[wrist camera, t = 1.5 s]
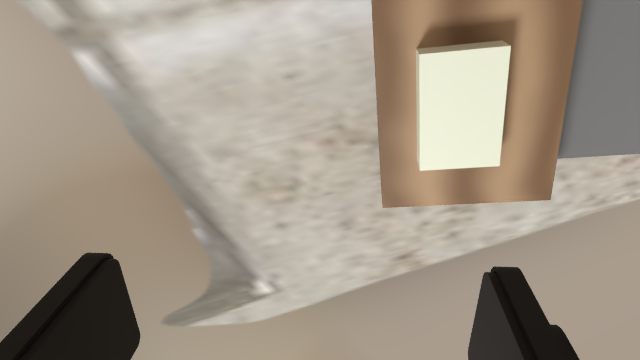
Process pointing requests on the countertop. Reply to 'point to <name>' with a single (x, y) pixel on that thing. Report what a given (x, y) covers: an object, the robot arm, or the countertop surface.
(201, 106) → the countertop surface
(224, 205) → the countertop surface
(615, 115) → the mat
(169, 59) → the countertop surface
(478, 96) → the cream rectangular block
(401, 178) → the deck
